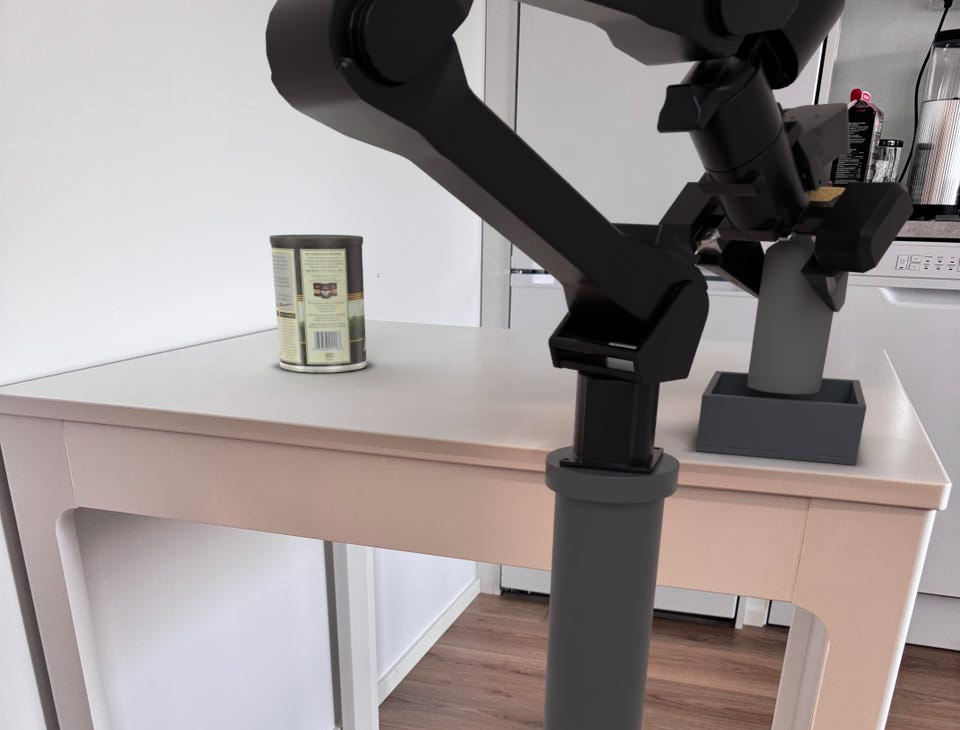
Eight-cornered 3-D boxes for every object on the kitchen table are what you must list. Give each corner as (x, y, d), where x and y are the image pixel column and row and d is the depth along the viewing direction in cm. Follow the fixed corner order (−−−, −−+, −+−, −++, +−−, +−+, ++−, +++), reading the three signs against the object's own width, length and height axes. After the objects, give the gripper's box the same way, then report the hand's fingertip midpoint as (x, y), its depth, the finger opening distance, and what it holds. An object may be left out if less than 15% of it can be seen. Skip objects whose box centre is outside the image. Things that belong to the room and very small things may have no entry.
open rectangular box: (855, 465, 73) (866, 406, 71) (695, 451, 76) (702, 394, 74) (850, 431, 84) (859, 380, 82) (709, 420, 87) (715, 370, 85)
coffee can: (334, 356, 118) (328, 233, 112) (384, 367, 111) (381, 236, 105) (261, 364, 112) (251, 234, 106) (310, 376, 105) (302, 238, 99)
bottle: (733, 387, 78) (760, 185, 72) (766, 380, 82) (795, 188, 76) (800, 397, 74) (835, 186, 68) (832, 389, 78) (867, 188, 72)
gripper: (931, 39, 60) (971, 232, 71) (696, 65, 73) (761, 224, 84) (839, 174, 58) (895, 348, 69) (616, 175, 71) (693, 322, 82)
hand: (805, 304), depth 76 cm, fingers closed on bottle, 6 cm apart
